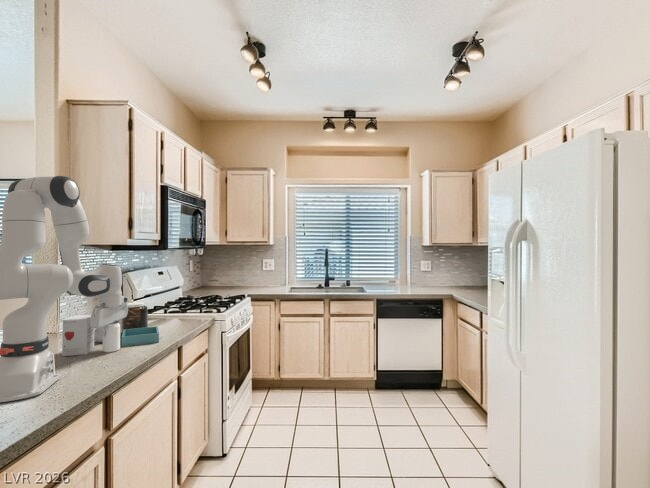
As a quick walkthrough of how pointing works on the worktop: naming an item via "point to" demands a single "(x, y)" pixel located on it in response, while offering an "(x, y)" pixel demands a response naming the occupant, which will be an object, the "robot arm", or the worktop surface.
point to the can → (111, 337)
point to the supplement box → (77, 335)
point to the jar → (135, 316)
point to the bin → (140, 336)
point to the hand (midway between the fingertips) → (109, 333)
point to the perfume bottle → (97, 336)
